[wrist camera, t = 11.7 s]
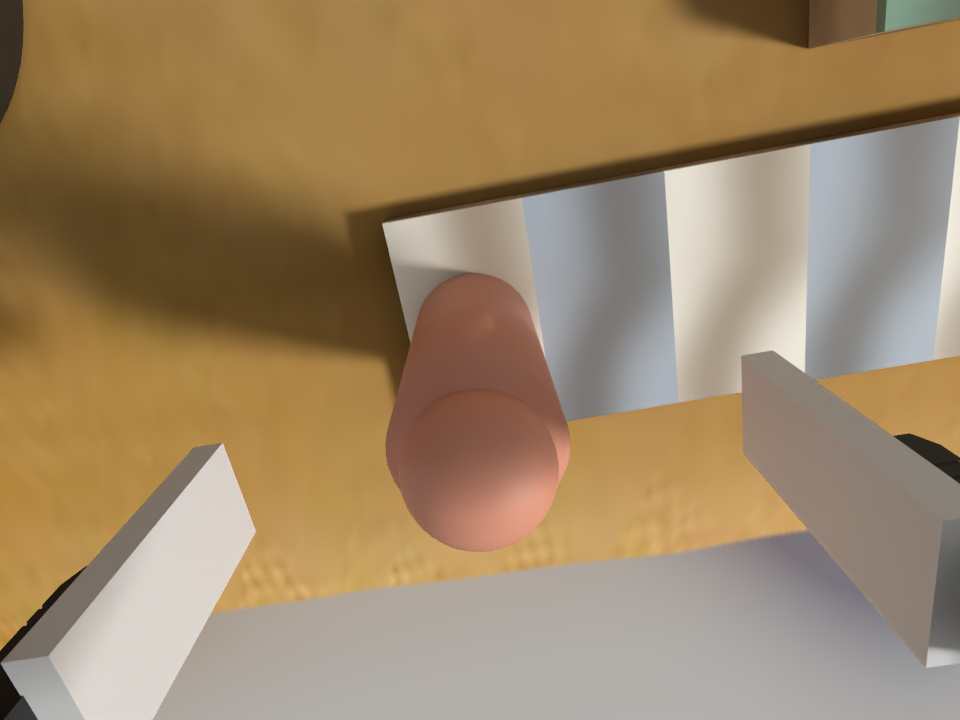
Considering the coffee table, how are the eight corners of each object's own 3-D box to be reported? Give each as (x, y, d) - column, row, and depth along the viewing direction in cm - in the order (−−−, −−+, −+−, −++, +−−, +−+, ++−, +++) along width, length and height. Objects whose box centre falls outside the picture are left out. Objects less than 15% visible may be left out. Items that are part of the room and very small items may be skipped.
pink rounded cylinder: (429, 391, 23) (396, 618, 13) (405, 284, 22) (343, 438, 11) (540, 373, 23) (602, 586, 12) (522, 263, 22) (577, 399, 11)
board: (435, 429, 25) (434, 443, 24) (386, 218, 22) (382, 223, 21) (1164, 306, 24) (1198, 315, 23) (1226, 62, 21) (1269, 58, 20)
